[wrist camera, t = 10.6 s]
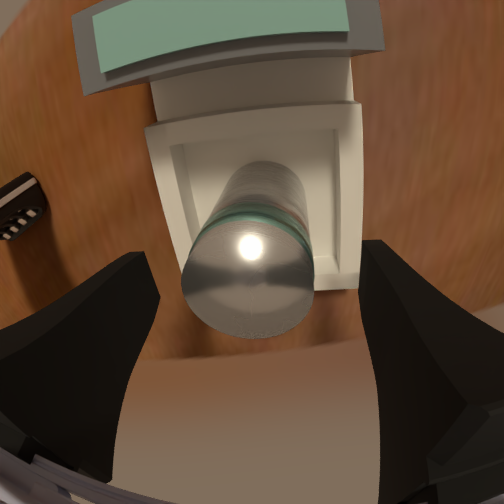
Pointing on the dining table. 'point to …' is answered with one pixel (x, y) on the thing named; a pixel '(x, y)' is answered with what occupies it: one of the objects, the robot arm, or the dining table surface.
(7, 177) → the dining table surface
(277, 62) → the charging station
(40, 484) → the robot arm
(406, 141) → the dining table surface
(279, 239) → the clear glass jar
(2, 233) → the battery charger
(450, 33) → the dining table surface
